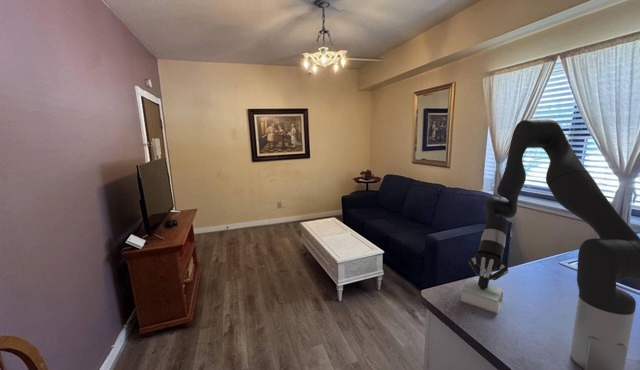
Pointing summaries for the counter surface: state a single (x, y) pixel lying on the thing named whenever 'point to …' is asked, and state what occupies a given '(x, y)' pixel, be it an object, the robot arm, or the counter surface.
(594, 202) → the robot arm
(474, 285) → the cover
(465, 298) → the cream card holder
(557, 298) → the counter surface
